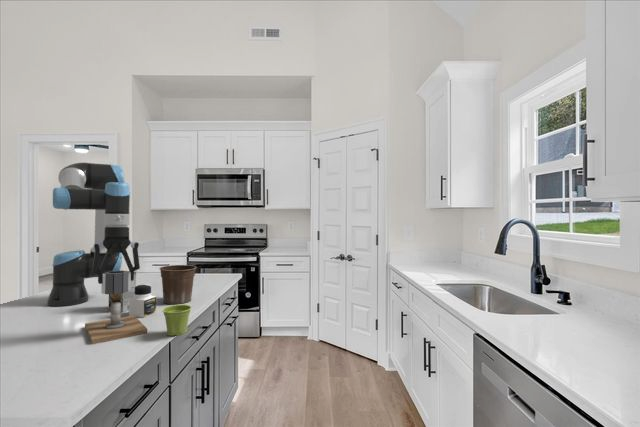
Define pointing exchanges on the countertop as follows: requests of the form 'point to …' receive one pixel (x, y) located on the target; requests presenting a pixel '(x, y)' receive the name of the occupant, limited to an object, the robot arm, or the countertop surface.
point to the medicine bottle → (142, 302)
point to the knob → (116, 282)
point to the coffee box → (123, 296)
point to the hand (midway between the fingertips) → (116, 291)
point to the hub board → (114, 327)
